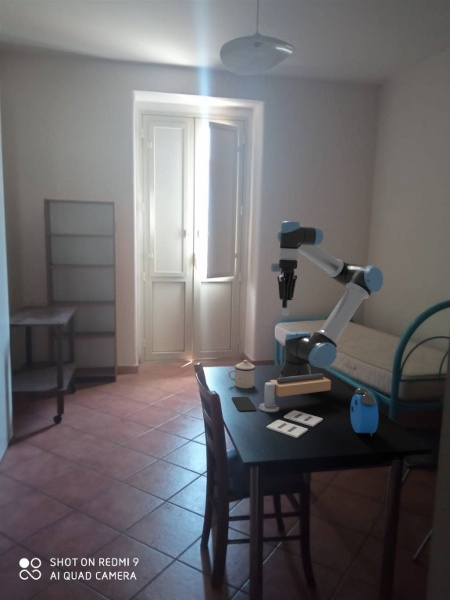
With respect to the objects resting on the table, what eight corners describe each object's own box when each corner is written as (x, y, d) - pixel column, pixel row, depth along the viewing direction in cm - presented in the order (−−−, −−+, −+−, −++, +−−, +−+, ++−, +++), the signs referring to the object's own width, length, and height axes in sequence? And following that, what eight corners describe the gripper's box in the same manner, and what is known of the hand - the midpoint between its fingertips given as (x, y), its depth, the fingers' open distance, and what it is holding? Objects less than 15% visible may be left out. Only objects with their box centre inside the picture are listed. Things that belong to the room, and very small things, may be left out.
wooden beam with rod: (269, 410, 170) (270, 382, 169) (259, 402, 178) (260, 376, 176) (329, 401, 182) (331, 375, 180) (317, 395, 189) (319, 370, 187)
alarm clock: (377, 440, 150) (380, 397, 148) (358, 439, 150) (362, 397, 148) (365, 424, 163) (368, 384, 161) (348, 423, 163) (351, 384, 161)
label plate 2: (294, 411, 173) (294, 409, 173) (322, 420, 166) (322, 418, 165) (283, 417, 166) (283, 415, 166) (312, 426, 159) (313, 424, 159)
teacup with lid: (252, 382, 206) (253, 357, 205) (256, 388, 197) (257, 363, 196) (226, 382, 205) (227, 357, 203) (229, 389, 196) (230, 363, 194)
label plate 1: (278, 421, 163) (278, 419, 163) (307, 430, 156) (307, 428, 156) (266, 427, 157) (266, 426, 157) (296, 438, 150) (296, 436, 150)
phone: (248, 396, 187) (257, 409, 172) (248, 398, 187) (257, 411, 172) (231, 397, 185) (238, 410, 171) (230, 399, 185) (238, 412, 171)
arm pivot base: (265, 403, 181) (265, 401, 180) (282, 408, 176) (282, 406, 176) (254, 408, 174) (254, 406, 174) (272, 414, 169) (272, 412, 169)
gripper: (288, 258, 192) (285, 312, 195) (272, 258, 181) (269, 315, 185) (304, 259, 187) (300, 314, 190) (288, 259, 177) (285, 318, 180)
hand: (285, 315), depth 187 cm, fingers closed
